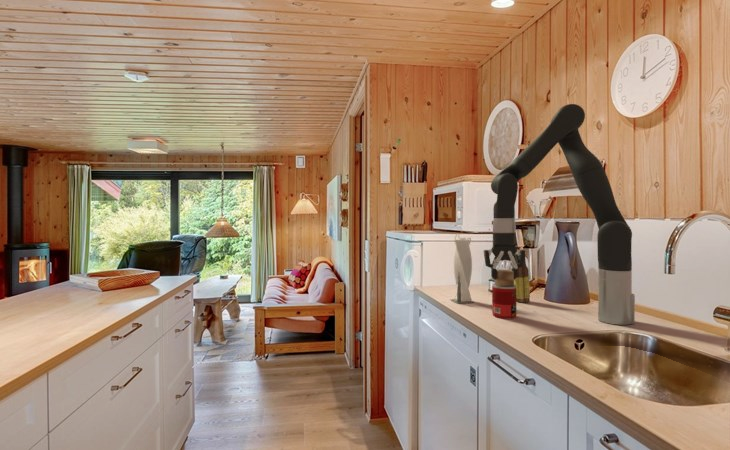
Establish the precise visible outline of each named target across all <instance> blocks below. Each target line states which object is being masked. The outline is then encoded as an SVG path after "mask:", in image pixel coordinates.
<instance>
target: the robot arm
mask: <svg viewBox="0 0 730 450" xmlns="http://www.w3.org/2000/svg"><path fill="white" fill-rule="evenodd" d="M585 118H586V113H585V110H584V108H583V106H580V105H578V104H577V103H570V104H569V103H568V104H565V105H563V106H562V107H560V108H559V109H558V110H557V111H556V113H555V114H554V116H553V117H552V118H551V120H550V123H549V124H548V126H546V127H545V129H544V130H543V131H542V132H541V133H540V134H539V135H538V136H537V137H536V138H535V139H534V140H533V141H532V142H531V143H530V144H529V145H528V146H526V147H525V149H523V150H522V151H521V152H520V153H519V154H518V155H517V156H516V157H515V159H513V160H512V162H511V163H510V164H509V165H507V166H506V167H505V168H504V169H502V170H501V171H500V172H499V173H498V174H496V175H495V176H494V177H493V179H492V181H491V183H490V189H491V191H492V192H493V194H495V195H496V202H495V203H494V205H493V209H492V210H493V220H492V221H493V222H492V248H491V249H483V257H484V263H485V267H488V268H490V269H491V270H490V272H491V273H490V274H491V275H490V277H491V278H493V280H494V281H495V280H497V270H498V269H497V266H498V264H499V263H500V262H502V261H508V262H509V263H510V264H509V265H511V271H514V280H515V279H516V278H517V269H518V268H519V267H523V263H524V256H525V257H526V250H524V249H518V248H517V247H516V245H517V244H516V238H517V237H516V233H517V232H516V230H517V228H516V217H515V216H516V215H515V214H516V211H515V209H516V207H515V206H516V202H517V197H518V192H519V191H518V190H519V184H518V182H519V181H520V180H522V179H523V178H525V177H526V176H528V175H529V174H531V172H532V171H533V170H534V169H535V168H536V167H537V166H539V164H540V163H541V162H542V161H543V159H545V157H546V156H547V155H548V154H549V153H550V152H551V151H552V150H553V148H555V146H556V145H557V144H558V145H559V147H560V148H561V151H562V152H563V155H564V157H565V160H566V162H567V165H568V167H569V169H570V172H571V174H572V177H573V179H574V182H575V184H576V187H577V189H578V191H579V192H580V195H581V196H582V199H584V201H585V202H586V203H587V205H588V207H589V209H590V210H591V212H592V214H593V216H594V218H595V222H596V224H597V228H598V231H597V237H596V238H597V263H598V264H597V266H598V270H597V271H598V274H597V275H598V278H597V279H598V281H597V284H598V286H597V288H598V289H597V290H598V291H597V294H598V296H597V301H598V302H597V303H598V304H597V305H598V307H597V309H598V310H597V315H598V316H597V317H598V319H597V320H598V321H600V322H602V323H606V324H612V325H620V326H625V325H631V324H635V321H636V319H635V312H636V311H635V310H636V308H635V303H636V301H635V299H636V298H635V297H636V296H635V294H634V293H632V291H633V289H632V287H633V285H632V284H633V283H632V282H633V281H632V280H633V279H632V274H633V272H632V271H633V268H632V267H633V266H632V265H633V262H632V261H633V260H632V259H633V258H632V242H633V241H632V237H633V232H632V229H631V227H630V226H629V224H628V223H627V221H626V219H625V218H624V216H623V214H622V213H621V210H620V209H619V207H618V205H617V203H616V198H615V196H614V192H613V189H612V187H611V183H610V180H609V178H608V176H607V173H606V171H605V169H604V167H603V165H602V163H601V161H600V159H599V158H598V157H596V155H595V154H593V152H591V151H590V150H589V149H588V148H587V147H586V145H585V144H584V142H583V140H582V137H581V134H580V131H579V129H580V128H581V127H582V126H583V124H584V122H585ZM516 253H517V255H518V262H517V264H516V260H515V254H516ZM492 254H493V256H494V258H493V260H492V262H491V258H490V256H491V255H492Z"/></svg>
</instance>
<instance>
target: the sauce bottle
mask: <svg viewBox="0 0 730 450" xmlns="http://www.w3.org/2000/svg"><path fill="white" fill-rule="evenodd" d="M514 259H515V261H516V264H517V262H518V255H517V252H516V254H515V255H514ZM514 285H516V303H525V304H526V303H529V302H531V301H530V300H531V299H530V298H531V292H530V291H531V289H530V274H529V268H528V266H527V264H526V255H525V256H524V263H523V267H519V268H518V269H517V278H516V279H515V280H514Z"/></svg>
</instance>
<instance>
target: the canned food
mask: <svg viewBox="0 0 730 450" xmlns="http://www.w3.org/2000/svg"><path fill="white" fill-rule="evenodd" d="M491 298H492V299H491V302H492V303H491V304H492V305H491V306H492V307H491V310H492V315H493V317H494V316H495V318H497V319H502V318H503V320H509V319H511V320H512V319H515V318H516V317H517V302H516V285H514V286H498V285H496V284H495V283H493V284H492V287H491Z"/></svg>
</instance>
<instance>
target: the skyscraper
mask: <svg viewBox="0 0 730 450" xmlns="http://www.w3.org/2000/svg"><path fill="white" fill-rule="evenodd" d="M456 238H457V239H456ZM471 241H472V238H471V237H468V238H467V237H460V234H459V233H457V234H455V236H454V244H455V251H454V256H453V257H454V259H453V273H454V281H455V286H456V291H455V295H454V298H452V299H451V298H450V299H449V301H451V302H453V303H455V304H457V305H461V304H465V305H466V304H475V301H473V300H472V297H471V296H472V295H471V292H470V284H471V278H472V273H473V272H472V271H473V259H472V258H473V256H472V253H471V247H470V245H471Z"/></svg>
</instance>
